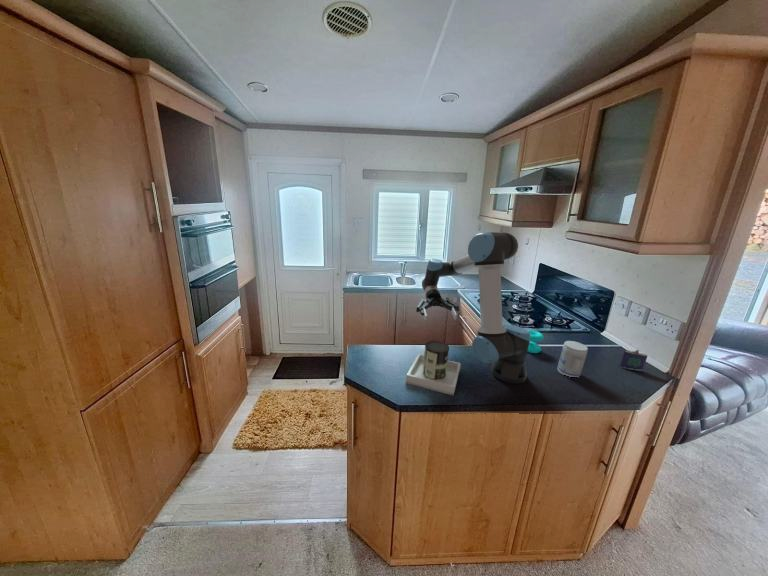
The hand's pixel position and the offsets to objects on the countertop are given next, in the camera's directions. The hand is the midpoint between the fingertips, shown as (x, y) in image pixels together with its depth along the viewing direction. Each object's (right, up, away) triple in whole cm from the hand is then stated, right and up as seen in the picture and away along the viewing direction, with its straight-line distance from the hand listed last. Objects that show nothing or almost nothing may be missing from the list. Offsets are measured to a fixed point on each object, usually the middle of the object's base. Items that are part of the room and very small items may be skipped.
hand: (440, 317), depth 132 cm
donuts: (+54, -20, +27) cm, 64 cm away
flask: (+97, -27, +13) cm, 101 cm away
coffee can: (-4, -25, -3) cm, 25 cm away
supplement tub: (+62, -27, +6) cm, 68 cm away
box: (-4, -26, -3) cm, 26 cm away
